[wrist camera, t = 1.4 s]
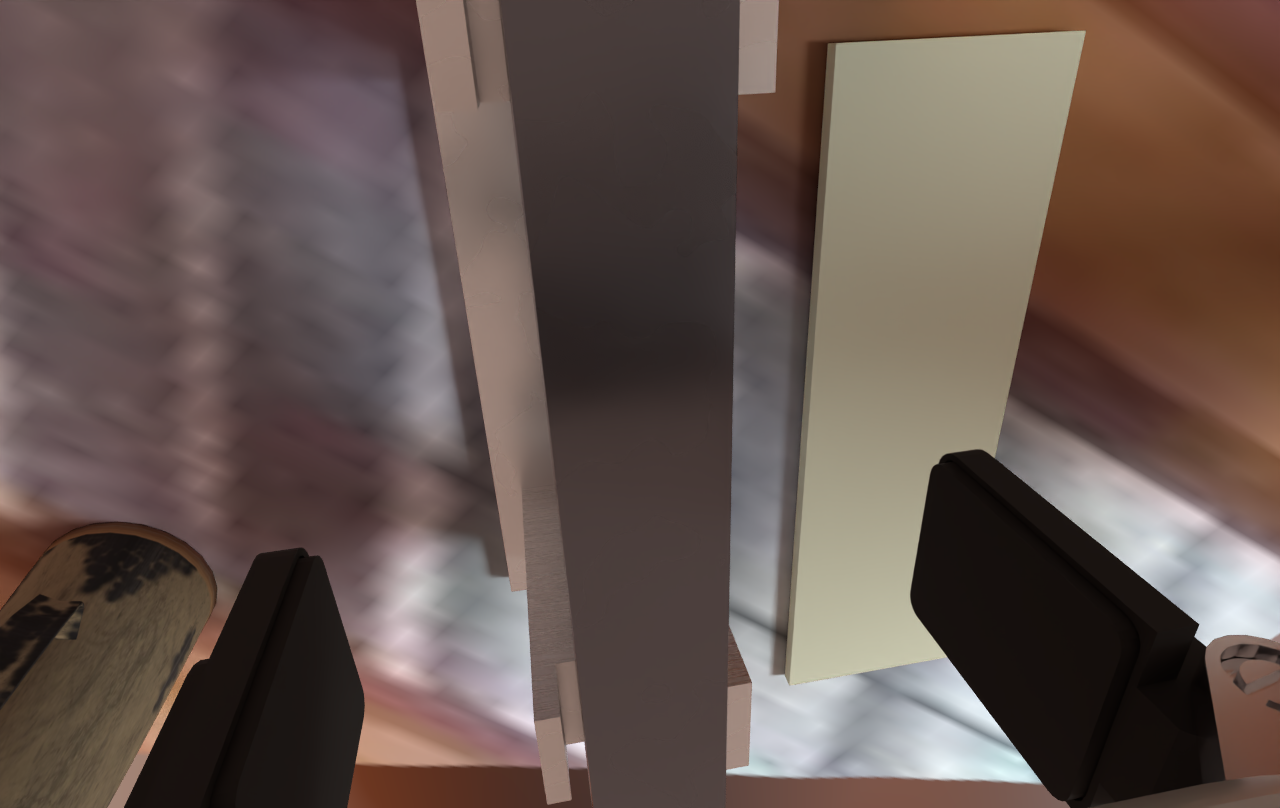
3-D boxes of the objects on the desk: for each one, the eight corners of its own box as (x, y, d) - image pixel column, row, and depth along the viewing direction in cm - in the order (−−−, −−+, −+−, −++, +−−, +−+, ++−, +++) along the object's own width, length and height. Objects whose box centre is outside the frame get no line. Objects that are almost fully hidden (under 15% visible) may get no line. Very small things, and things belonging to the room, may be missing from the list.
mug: (200, 661, 27) (8, 1060, 16) (28, 634, 25) (-315, 1063, 14) (244, 491, 24) (48, 838, 14) (54, 447, 22) (-345, 807, 12)
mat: (1071, 31, 22) (1085, 30, 22) (945, 646, 34) (952, 656, 33) (827, 43, 21) (836, 43, 21) (784, 675, 33) (789, 685, 32)
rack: (676, -120, 19) (856, -289, 9) (687, 551, 29) (779, 795, 19) (400, -116, 18) (290, -298, 8) (511, 577, 28) (518, 848, 18)
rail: (677, -339, 10) (748, -490, 7) (693, 780, 21) (723, 894, 18) (458, -345, 10) (442, -508, 7) (591, 800, 20) (606, 920, 18)
